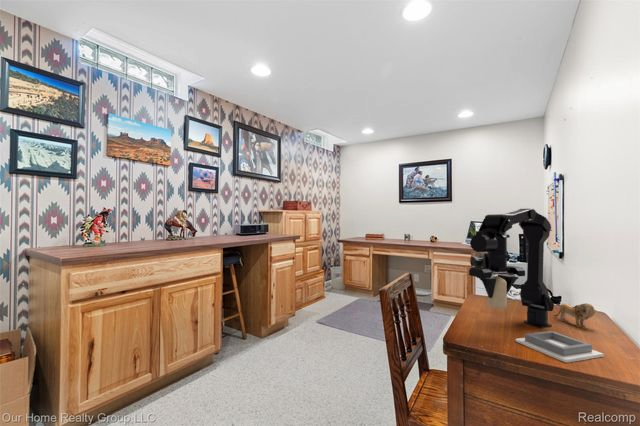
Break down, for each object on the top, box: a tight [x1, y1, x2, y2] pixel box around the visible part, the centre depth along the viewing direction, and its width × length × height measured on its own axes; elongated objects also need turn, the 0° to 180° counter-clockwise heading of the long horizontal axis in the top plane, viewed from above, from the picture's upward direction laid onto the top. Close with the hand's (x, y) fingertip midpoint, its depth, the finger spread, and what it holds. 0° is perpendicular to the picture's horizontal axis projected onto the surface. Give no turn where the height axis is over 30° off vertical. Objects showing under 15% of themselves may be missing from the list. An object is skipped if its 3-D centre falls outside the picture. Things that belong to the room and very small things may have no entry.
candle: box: [487, 275, 508, 309], centre depth 100 cm, size 6×6×10 cm
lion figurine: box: [553, 302, 597, 328], centre depth 114 cm, size 15×5×9 cm, turn 14°
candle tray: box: [515, 330, 604, 364], centre depth 90 cm, size 15×15×3 cm
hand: (497, 297), depth 100 cm, fingers closed on candle, 5 cm apart
